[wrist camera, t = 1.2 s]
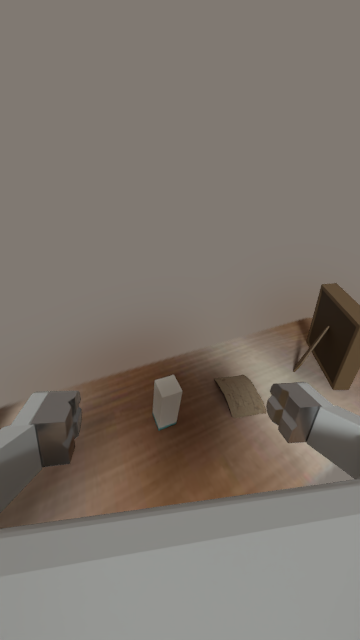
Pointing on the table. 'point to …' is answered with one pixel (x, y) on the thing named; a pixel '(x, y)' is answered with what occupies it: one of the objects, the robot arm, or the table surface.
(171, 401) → the block
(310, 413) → the robot arm
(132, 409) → the table surface
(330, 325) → the photo frame
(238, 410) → the clay tablet
